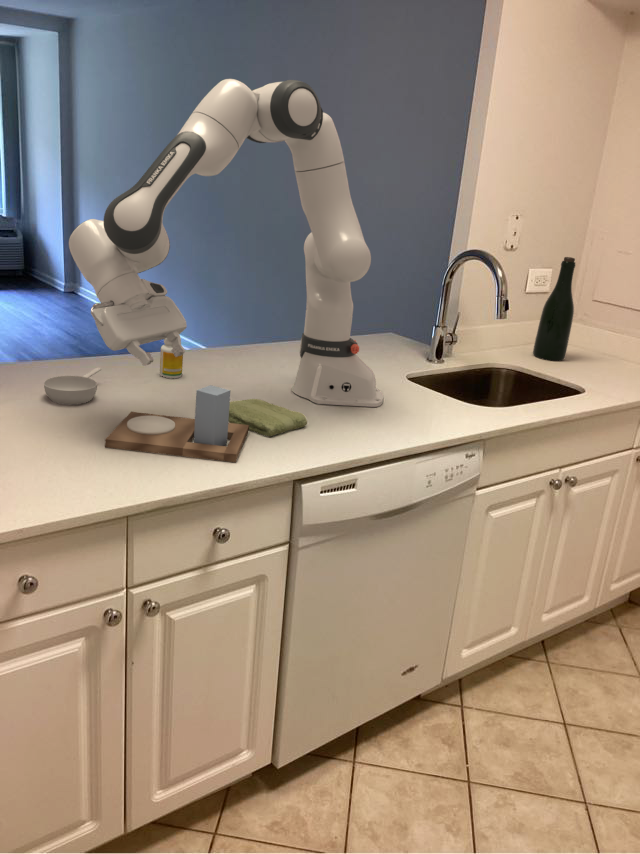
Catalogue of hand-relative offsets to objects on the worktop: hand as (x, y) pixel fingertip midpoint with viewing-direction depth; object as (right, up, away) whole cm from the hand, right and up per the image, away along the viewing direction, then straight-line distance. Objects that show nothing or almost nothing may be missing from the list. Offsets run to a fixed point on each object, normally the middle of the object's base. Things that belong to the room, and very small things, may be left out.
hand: (165, 359), depth 138 cm
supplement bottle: (-7, -1, +40) cm, 41 cm away
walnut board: (+3, -15, +1) cm, 16 cm away
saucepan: (-23, -6, +21) cm, 32 cm away
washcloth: (+16, -12, +16) cm, 26 cm away
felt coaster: (-3, -13, +2) cm, 13 cm away
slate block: (+9, -16, 0) cm, 19 cm away
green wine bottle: (+106, +10, +105) cm, 149 cm away
